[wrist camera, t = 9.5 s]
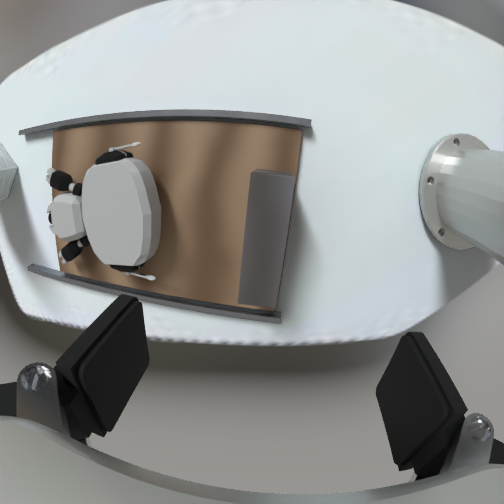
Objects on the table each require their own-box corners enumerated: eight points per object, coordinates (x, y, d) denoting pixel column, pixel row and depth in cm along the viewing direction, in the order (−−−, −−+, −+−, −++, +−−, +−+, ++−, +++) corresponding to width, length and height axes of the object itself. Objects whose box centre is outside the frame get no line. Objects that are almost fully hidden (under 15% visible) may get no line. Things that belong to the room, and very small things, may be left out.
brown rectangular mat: (301, 130, 22) (309, 121, 16) (275, 309, 29) (274, 347, 23) (56, 131, 24) (18, 132, 18) (62, 269, 30) (31, 290, 24)
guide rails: (309, 121, 22) (311, 119, 21) (280, 317, 29) (280, 323, 28) (25, 130, 24) (19, 130, 23) (33, 267, 31) (28, 270, 30)
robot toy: (75, 259, 30) (177, 265, 27) (52, 272, 25) (156, 284, 23) (61, 162, 26) (166, 140, 23) (34, 167, 21) (140, 140, 19)
